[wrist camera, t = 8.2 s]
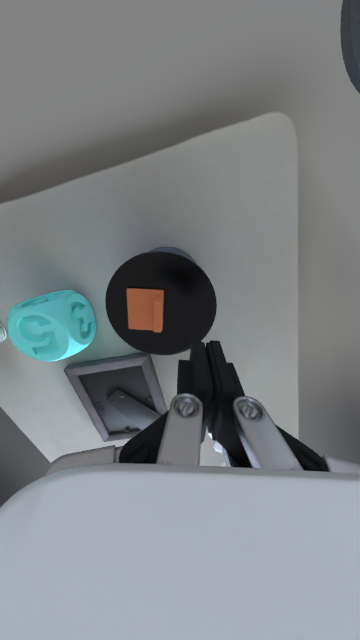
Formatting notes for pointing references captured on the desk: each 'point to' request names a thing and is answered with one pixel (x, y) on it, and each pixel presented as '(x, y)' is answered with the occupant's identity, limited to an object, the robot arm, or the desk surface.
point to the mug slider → (145, 309)
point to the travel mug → (164, 300)
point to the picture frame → (118, 394)
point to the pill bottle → (2, 333)
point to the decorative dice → (52, 325)
